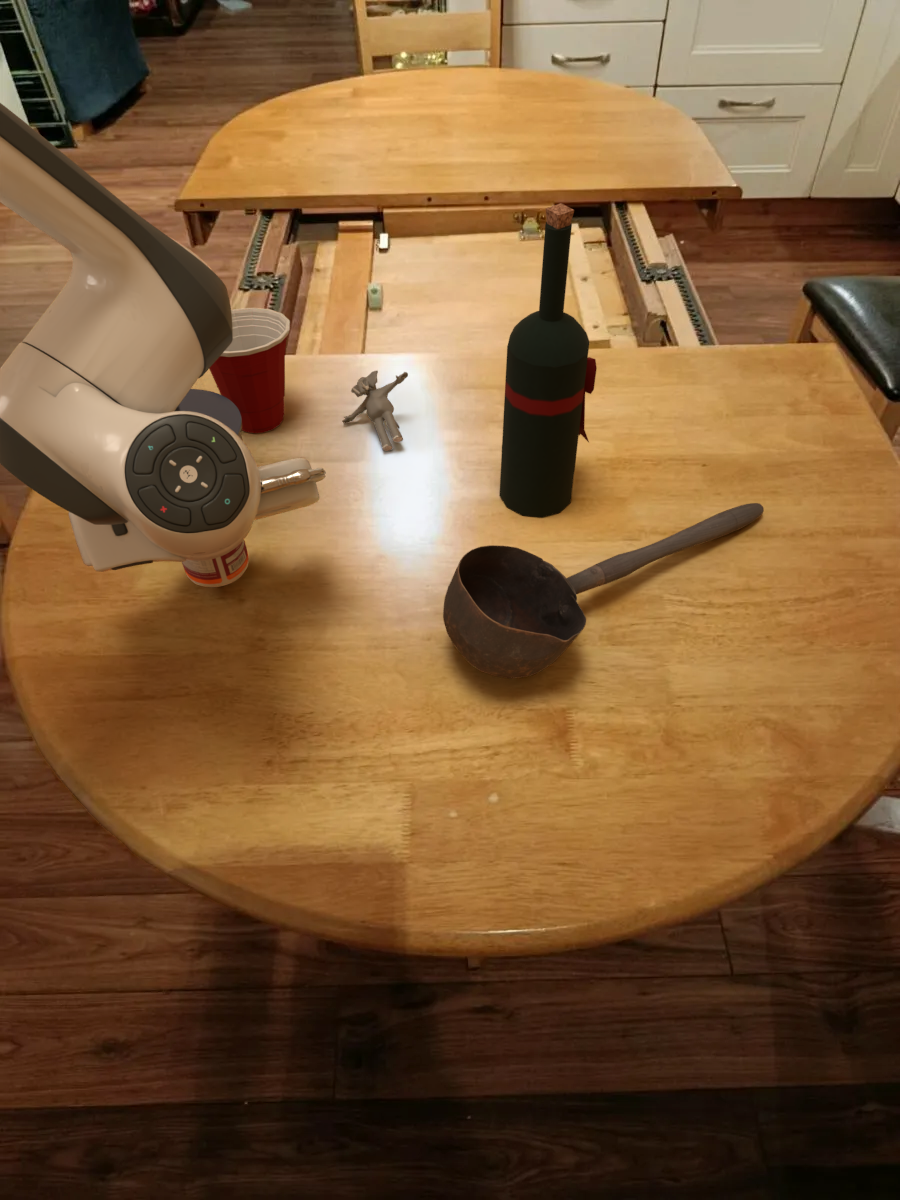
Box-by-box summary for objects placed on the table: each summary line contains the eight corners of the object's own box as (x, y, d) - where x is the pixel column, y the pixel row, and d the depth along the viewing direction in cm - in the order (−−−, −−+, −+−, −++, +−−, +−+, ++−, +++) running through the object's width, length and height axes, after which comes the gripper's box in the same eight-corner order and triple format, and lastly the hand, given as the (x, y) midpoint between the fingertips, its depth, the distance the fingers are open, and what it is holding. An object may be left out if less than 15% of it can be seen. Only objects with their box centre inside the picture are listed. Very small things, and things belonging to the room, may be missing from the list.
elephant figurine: (345, 463, 95) (320, 398, 98) (377, 475, 100) (353, 413, 103) (411, 412, 90) (384, 346, 93) (442, 428, 95) (415, 364, 98)
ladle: (406, 627, 75) (434, 543, 69) (679, 537, 97) (721, 467, 90) (482, 724, 70) (520, 643, 63) (754, 606, 91) (804, 536, 85)
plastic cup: (295, 385, 105) (279, 294, 96) (314, 435, 98) (299, 342, 89) (207, 402, 103) (183, 310, 94) (220, 454, 96) (194, 361, 87)
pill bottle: (241, 538, 85) (217, 446, 76) (256, 578, 81) (232, 487, 72) (180, 555, 83) (148, 464, 75) (192, 597, 79) (160, 506, 71)
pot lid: (116, 494, 79) (102, 460, 76) (97, 415, 88) (84, 381, 85) (258, 458, 83) (250, 423, 80) (227, 385, 91) (218, 351, 88)
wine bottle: (604, 490, 91) (650, 206, 69) (530, 528, 87) (553, 240, 65) (556, 453, 95) (585, 175, 73) (484, 487, 91) (491, 204, 69)
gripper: (317, 429, 67) (302, 457, 80) (47, 495, 62) (78, 513, 75) (339, 507, 67) (321, 521, 81) (73, 578, 62) (100, 581, 76)
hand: (202, 517), depth 78 cm, fingers closed on pill bottle, 6 cm apart
